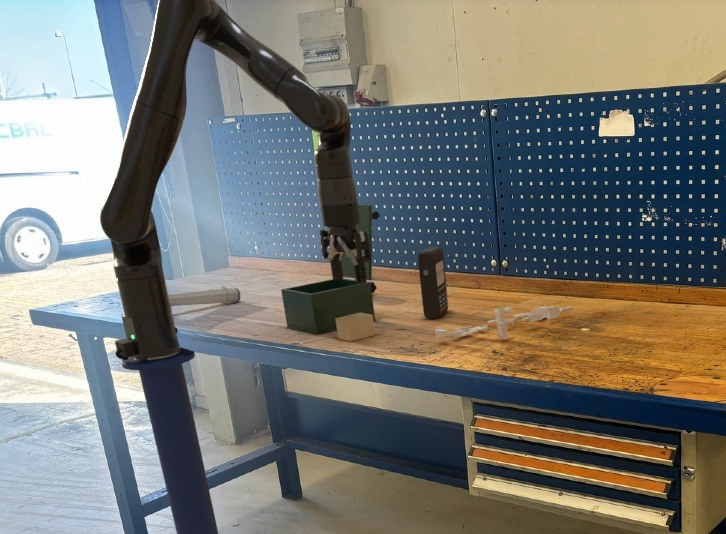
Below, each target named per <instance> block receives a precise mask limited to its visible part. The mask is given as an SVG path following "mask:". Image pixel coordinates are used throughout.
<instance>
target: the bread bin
mask: <svg viewBox="0 0 726 534" xmlns="http://www.w3.org/2000/svg"><path fill="white" fill-rule="evenodd" d="M370 282H371V281H366V283H362V284H357V283H356V280H355V279H352V278H346V277H343V279H341V280H333V278H332V279H326V280H322V281H317V282H311V283H306V284H301V285H296V286H291V287H285V288H281V289H280V290H281V297H282V303H283V309H284V315H285V322H286V327H287V329H292V330H296V331H300V332H304V333H309V334H313V335H321V334H326V333H330V332H334V331H337V327H336V320H335V318H339V317H343V316H348V315H352V314H356V313H365V314H370V315H373V322H374V321H376V316H375V314H376V313H375V308H374V307H375V306H374V300H373V299H374V298H373V293H372V290H371V283H370Z"/></svg>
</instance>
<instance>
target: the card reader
mask: <svg viewBox="0 0 726 534" xmlns="http://www.w3.org/2000/svg"><path fill="white" fill-rule="evenodd" d="M444 256H445V255H444V250H443V248H442V247H441V246H431V247H427V248H426V249H424V250H422V251H420V252H419V253H418V255H417V263H418V272H419V273H418V274H419V283H420V292H421V301H422V311H423V315H424V317H425V319H438V318H440V317H441V316H442V315H443V314H445V313H446V312H447V311H448V309H449V303H448V302H449V299H448V297H449V296H448V291H447V280H446V268H445V257H444Z"/></svg>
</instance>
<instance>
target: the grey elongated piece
mask: <svg viewBox="0 0 726 534" xmlns="http://www.w3.org/2000/svg"><path fill="white" fill-rule="evenodd" d="M573 310H574V308H573V306H567V307H561V308H559V307H558V306H556V305H552V306H549V305H545V306H541V307H535V308H532V309H531V310H530V312H523V313H522V312H521V313H518V314H514V315H510V318H508V319H506V314H513V312H514V308H513V307H512V306H506V307H505V306H504V307H500V308H494V309H493V311H494V317H495V318H494V319H490V320H488V321H487V323H488V324H495V325H496V331H497V337H498V339H497V340H498V341H501V340H508V339H509V331H508V326H507V325H510V324H511V326H514V325H515V320H517V319H521V322H525V321H528V322H529V323H535V322H536V321H540V322H541V321H542V320H543V319H546V320H548V321H550V320H554V319H557V318H559V316H560V314H561V312H568V311H573ZM488 324H484V325H478V326H476V327H472V325H466V326H461V327H456V328H455V327H453V328H452V331H451V332H449V330H448V329H443V328H442V327H440V328H436V329H434V332H435V333H434V334H435V338H436V340H439V339H443V338H444V337H451V336H453V338H454V339H455V340H457V338H460V337H464V336H468V335H473V334H477V333H478V332H485V331H488V330H489V325H488Z"/></svg>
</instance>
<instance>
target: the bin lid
mask: <svg viewBox="0 0 726 534" xmlns="http://www.w3.org/2000/svg"><path fill="white" fill-rule="evenodd" d="M358 210H359V217H360V222H359V223H358V224H356V230H357V232H361V231H366V232H367V236H368V242H369V248H370V254H371V261H368V262H366V264H365V270H366V277H367V278H366V280H367V281H372V280H373V275H372V274H373V266H372V265H373V264H372V263H373V243H372V242H373V220H379V218H380V213H379V211H376V210H375V211H374V210H373V205H372V204H358ZM355 249H356V247H355ZM362 253H363V255H364V256H365V250H363V252H362ZM356 258H357V259H358V257H357V255H356ZM340 261H341V264H342V271H343V278H349V279H355V272H354V266H355V265H354V263H353V262H352V260H351V258H350V257H348V256H347V255H346V253H342V256H341V259H340Z"/></svg>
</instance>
